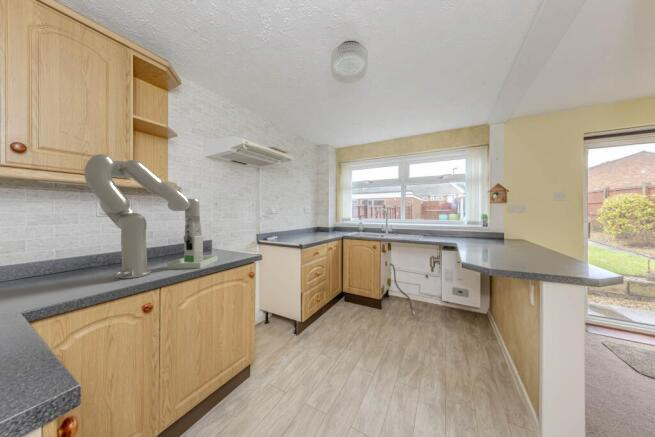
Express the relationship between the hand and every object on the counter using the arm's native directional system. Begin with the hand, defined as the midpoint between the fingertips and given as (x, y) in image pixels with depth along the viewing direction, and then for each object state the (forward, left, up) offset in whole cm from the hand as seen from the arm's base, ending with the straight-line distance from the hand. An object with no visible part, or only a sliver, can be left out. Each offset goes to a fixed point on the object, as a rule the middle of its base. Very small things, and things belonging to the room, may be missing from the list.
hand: (193, 248), depth 135 cm
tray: (0, 0, -9) cm, 9 cm away
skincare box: (0, 0, -8) cm, 8 cm away
